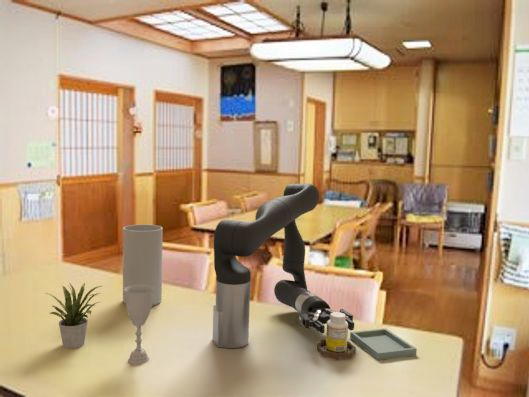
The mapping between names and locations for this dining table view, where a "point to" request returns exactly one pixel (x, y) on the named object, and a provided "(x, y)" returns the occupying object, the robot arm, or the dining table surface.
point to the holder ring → (332, 354)
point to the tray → (383, 344)
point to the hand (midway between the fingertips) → (338, 328)
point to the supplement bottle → (337, 333)
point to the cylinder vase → (143, 258)
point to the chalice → (138, 316)
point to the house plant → (73, 317)
